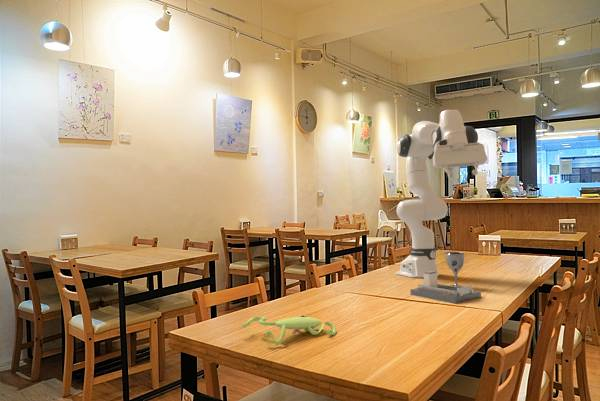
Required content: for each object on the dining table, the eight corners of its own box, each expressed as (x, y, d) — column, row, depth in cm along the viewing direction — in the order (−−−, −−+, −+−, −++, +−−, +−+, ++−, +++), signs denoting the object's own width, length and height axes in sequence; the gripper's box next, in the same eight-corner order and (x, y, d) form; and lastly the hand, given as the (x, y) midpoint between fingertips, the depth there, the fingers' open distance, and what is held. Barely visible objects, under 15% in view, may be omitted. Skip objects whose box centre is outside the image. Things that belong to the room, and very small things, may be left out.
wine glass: (468, 288, 194) (467, 253, 194) (450, 288, 194) (448, 254, 194) (462, 284, 202) (460, 251, 202) (444, 285, 202) (443, 252, 202)
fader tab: (424, 288, 187) (423, 271, 187) (431, 286, 190) (431, 270, 190) (429, 289, 184) (429, 272, 184) (437, 287, 187) (437, 271, 187)
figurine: (238, 335, 140) (237, 317, 140) (313, 321, 152) (312, 305, 152) (260, 352, 124) (259, 332, 124) (342, 335, 136) (341, 317, 136)
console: (410, 294, 186) (410, 282, 186) (435, 288, 195) (435, 277, 195) (455, 303, 168) (454, 290, 168) (481, 296, 177) (480, 284, 177)
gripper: (480, 146, 181) (488, 176, 175) (429, 150, 182) (435, 181, 177) (485, 138, 175) (492, 169, 170) (432, 142, 177) (438, 174, 171)
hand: (462, 175), depth 173 cm, fingers open, 8 cm apart
